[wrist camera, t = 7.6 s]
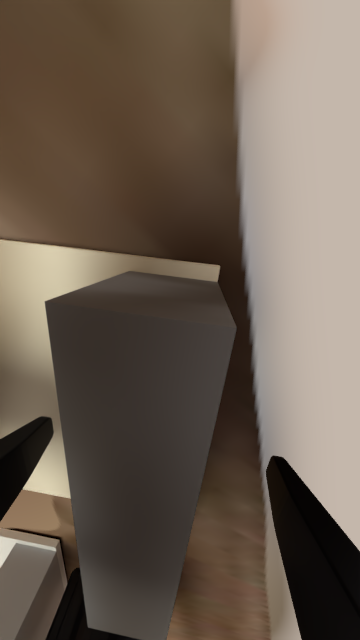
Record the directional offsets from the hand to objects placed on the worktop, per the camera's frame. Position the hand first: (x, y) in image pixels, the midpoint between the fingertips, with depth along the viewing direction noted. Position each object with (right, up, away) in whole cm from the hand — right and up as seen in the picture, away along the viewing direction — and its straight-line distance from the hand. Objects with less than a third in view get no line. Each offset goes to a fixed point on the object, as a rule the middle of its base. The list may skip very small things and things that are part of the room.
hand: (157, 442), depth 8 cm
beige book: (-8, +2, +2) cm, 9 cm away
